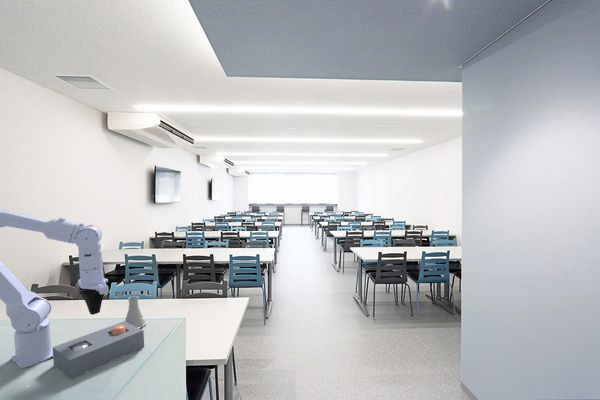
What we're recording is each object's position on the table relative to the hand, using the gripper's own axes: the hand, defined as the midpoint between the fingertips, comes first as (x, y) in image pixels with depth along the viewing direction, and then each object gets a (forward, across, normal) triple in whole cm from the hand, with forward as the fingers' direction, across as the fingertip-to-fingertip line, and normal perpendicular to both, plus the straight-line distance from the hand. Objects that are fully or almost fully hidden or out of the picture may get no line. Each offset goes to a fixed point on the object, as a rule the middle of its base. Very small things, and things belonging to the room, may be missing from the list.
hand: (94, 313), depth 97 cm
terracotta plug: (+9, -6, -3) cm, 11 cm away
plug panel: (+10, -6, +2) cm, 12 cm away
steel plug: (+10, -6, +7) cm, 13 cm away
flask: (+11, +4, -14) cm, 18 cm away
